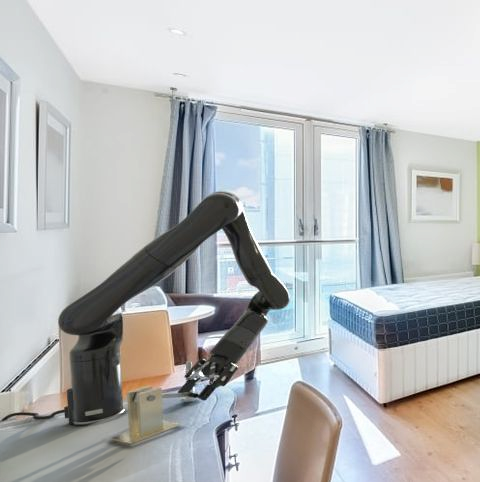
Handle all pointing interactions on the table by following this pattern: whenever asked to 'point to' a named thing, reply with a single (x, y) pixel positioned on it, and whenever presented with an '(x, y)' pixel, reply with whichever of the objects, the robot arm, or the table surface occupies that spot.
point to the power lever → (174, 395)
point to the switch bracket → (144, 416)
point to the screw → (188, 367)
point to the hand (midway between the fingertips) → (190, 397)
